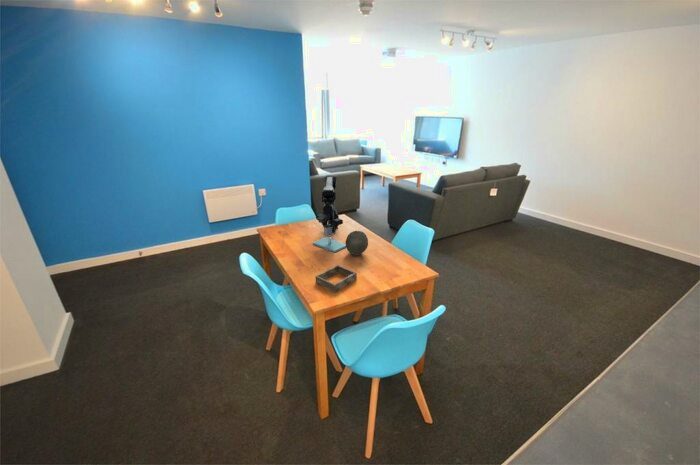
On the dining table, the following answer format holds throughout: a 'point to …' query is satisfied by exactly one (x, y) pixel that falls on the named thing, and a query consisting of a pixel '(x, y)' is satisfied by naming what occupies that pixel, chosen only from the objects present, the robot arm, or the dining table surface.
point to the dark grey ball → (356, 242)
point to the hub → (328, 230)
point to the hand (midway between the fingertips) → (329, 232)
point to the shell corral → (339, 285)
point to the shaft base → (330, 244)
